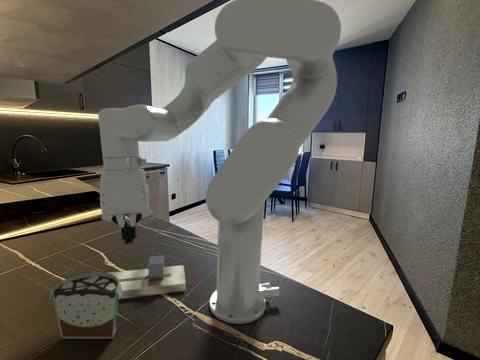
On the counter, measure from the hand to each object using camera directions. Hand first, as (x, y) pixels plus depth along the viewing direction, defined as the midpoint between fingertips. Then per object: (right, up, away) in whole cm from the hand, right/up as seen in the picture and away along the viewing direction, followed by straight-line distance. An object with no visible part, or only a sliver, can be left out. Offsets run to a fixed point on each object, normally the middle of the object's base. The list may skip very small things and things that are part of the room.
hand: (129, 241), depth 60 cm
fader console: (+1, -12, +3) cm, 12 cm away
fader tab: (+5, -9, +4) cm, 11 cm away
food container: (-2, -14, -11) cm, 18 cm away
